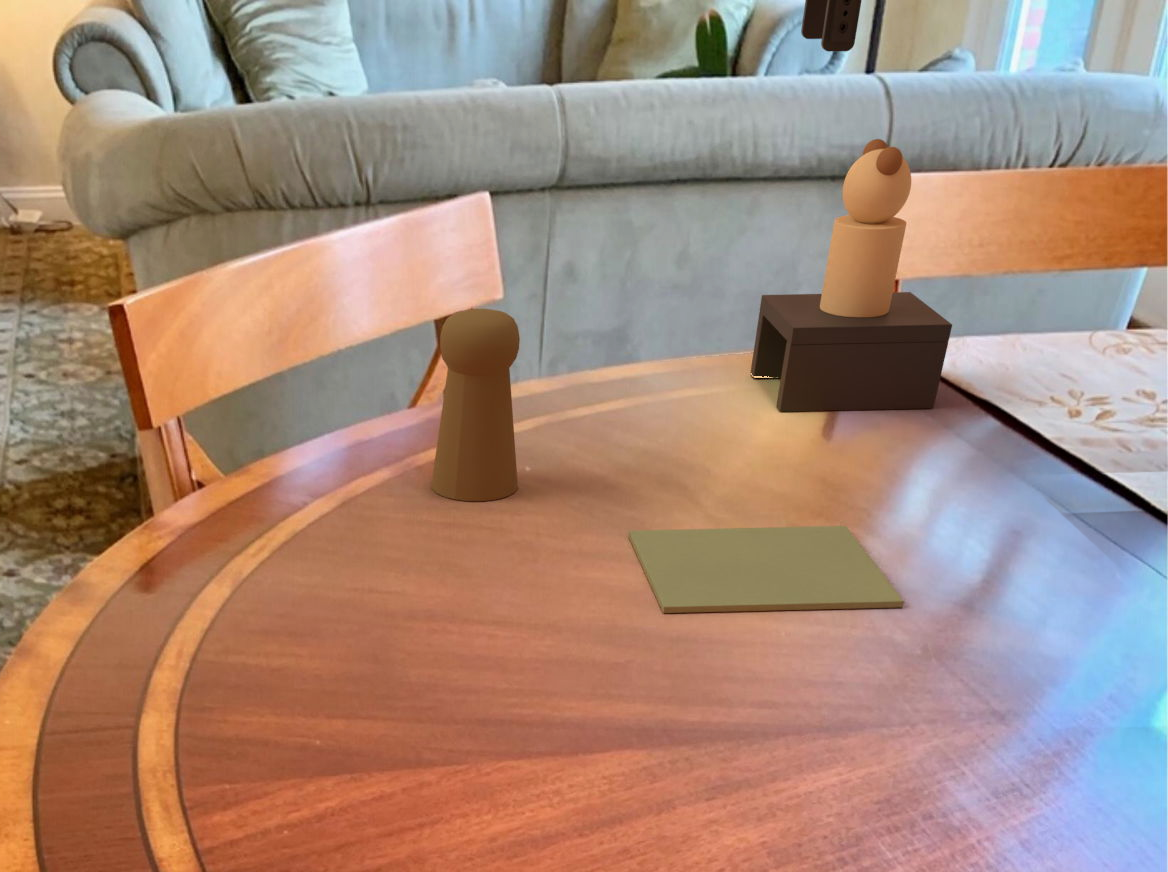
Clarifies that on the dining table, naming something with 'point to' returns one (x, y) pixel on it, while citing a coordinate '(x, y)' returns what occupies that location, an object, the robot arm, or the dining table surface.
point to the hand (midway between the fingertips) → (825, 44)
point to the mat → (761, 569)
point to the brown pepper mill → (477, 407)
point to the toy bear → (867, 235)
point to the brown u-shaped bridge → (850, 354)
